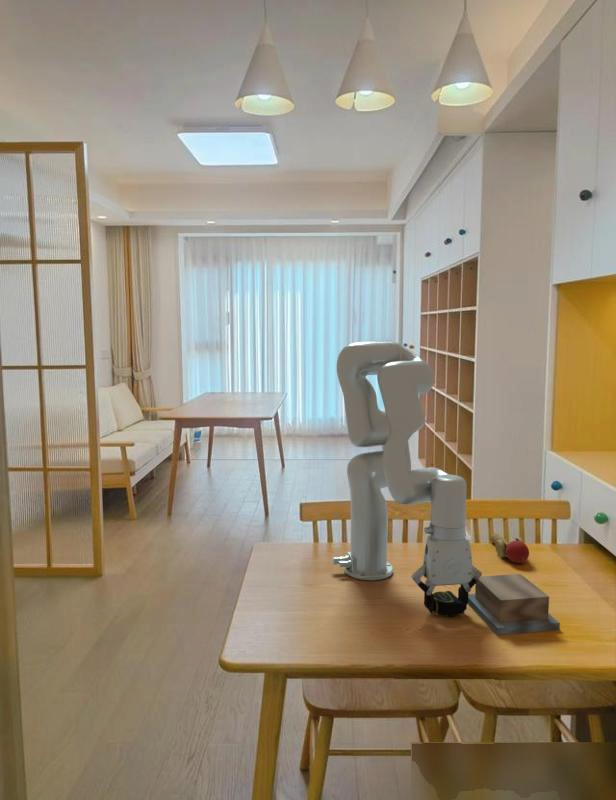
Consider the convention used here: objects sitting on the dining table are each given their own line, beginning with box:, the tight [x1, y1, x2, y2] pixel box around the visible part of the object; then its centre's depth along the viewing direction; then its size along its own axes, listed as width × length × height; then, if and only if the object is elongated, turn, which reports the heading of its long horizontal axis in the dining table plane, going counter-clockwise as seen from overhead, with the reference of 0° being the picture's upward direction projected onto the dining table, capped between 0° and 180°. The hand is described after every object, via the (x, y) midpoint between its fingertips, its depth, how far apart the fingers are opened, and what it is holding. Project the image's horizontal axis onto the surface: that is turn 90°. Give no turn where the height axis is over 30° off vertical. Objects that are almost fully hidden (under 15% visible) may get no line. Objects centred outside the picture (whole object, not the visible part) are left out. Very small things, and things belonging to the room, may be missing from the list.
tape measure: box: [432, 590, 466, 617], centre depth 131 cm, size 7×7×4 cm
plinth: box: [467, 573, 561, 636], centre depth 130 cm, size 14×16×6 cm
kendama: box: [489, 532, 530, 564], centre depth 166 cm, size 8×6×18 cm
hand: (446, 607), depth 131 cm, fingers closed on tape measure, 7 cm apart
